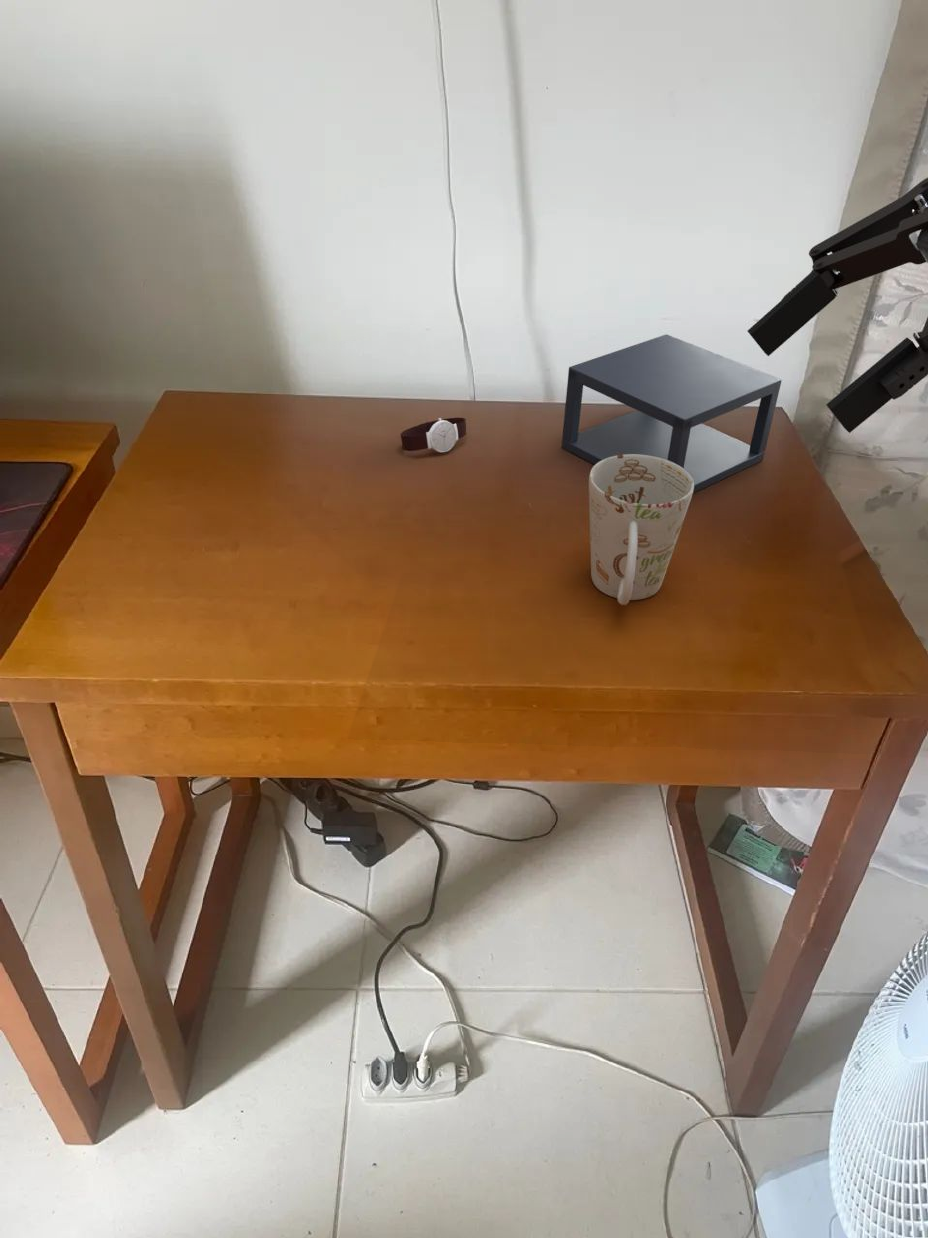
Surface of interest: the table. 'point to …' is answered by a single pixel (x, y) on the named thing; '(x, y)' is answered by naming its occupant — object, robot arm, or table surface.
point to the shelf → (671, 407)
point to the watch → (434, 435)
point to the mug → (635, 522)
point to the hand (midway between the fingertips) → (794, 379)
